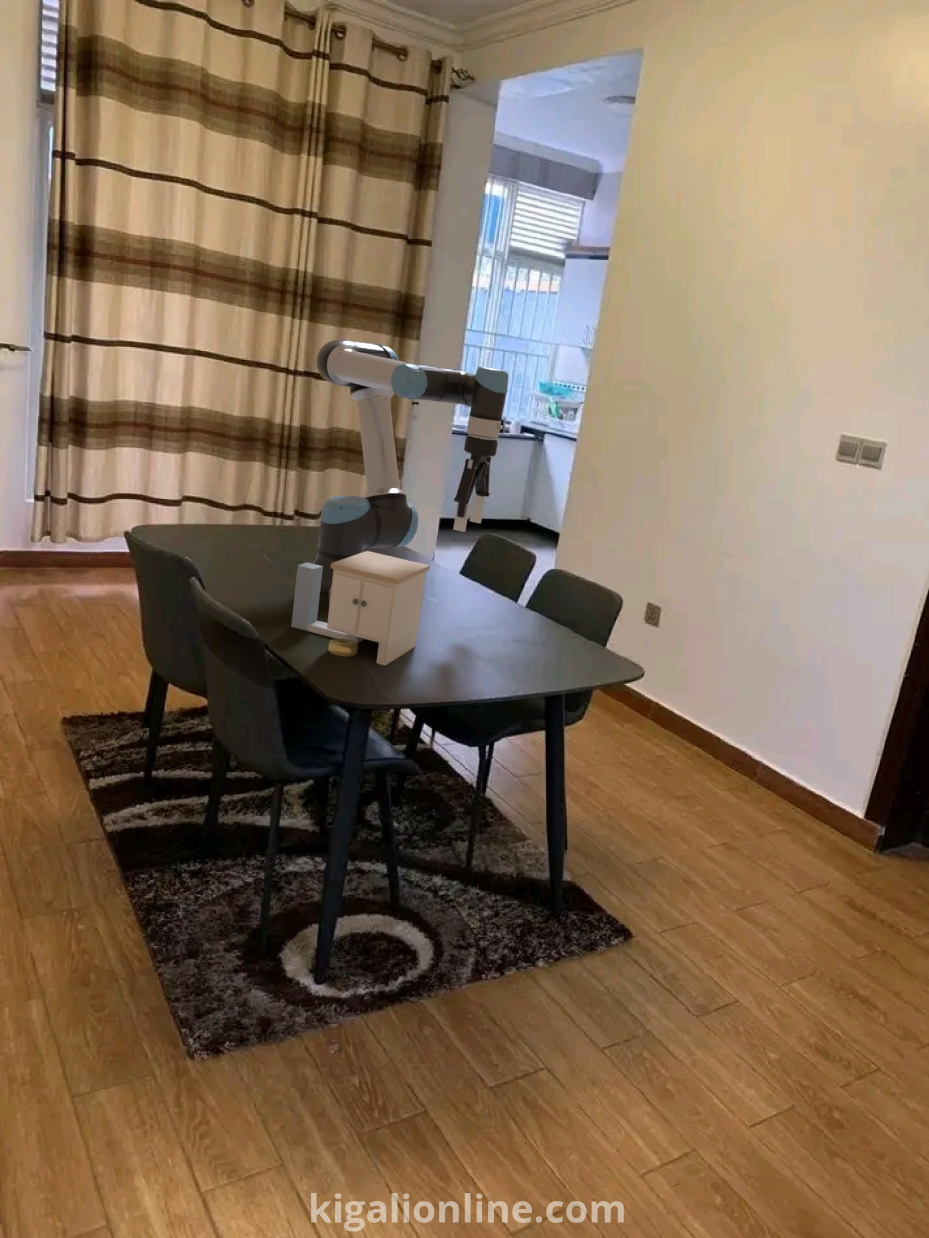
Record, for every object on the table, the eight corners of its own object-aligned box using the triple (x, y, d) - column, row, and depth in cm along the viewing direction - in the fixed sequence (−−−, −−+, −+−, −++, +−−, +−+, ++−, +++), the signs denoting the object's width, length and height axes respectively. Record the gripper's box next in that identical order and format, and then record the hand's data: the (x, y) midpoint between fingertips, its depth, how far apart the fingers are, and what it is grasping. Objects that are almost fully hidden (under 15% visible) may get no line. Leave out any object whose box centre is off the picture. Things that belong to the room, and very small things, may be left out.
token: (323, 652, 193) (324, 643, 193) (336, 645, 199) (337, 636, 198) (348, 659, 192) (350, 650, 191) (361, 652, 197) (362, 643, 197)
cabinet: (318, 650, 194) (328, 564, 188) (357, 630, 210) (367, 550, 205) (384, 668, 189) (396, 580, 184) (418, 646, 206) (429, 565, 201)
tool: (291, 626, 206) (297, 565, 202) (300, 622, 209) (306, 562, 205) (356, 643, 201) (364, 581, 197) (364, 639, 205) (372, 578, 201)
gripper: (483, 443, 203) (467, 537, 209) (510, 436, 226) (495, 522, 232) (451, 436, 205) (436, 530, 211) (481, 430, 228) (467, 515, 234)
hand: (467, 526), depth 221 cm, fingers open, 13 cm apart
